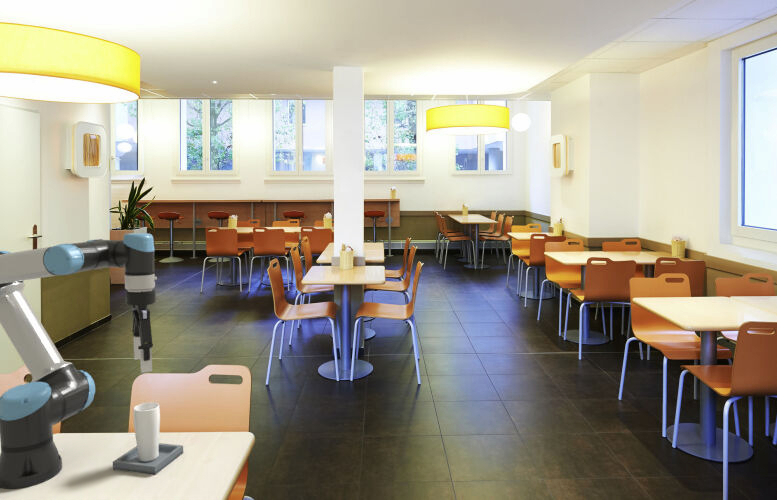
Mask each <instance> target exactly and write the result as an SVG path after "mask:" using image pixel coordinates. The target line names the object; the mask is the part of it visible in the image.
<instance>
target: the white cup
mask: <svg viewBox="0 0 777 500" xmlns="http://www.w3.org/2000/svg"><path fill="white" fill-rule="evenodd" d="M132 417H133V428H134V435H135V440H136V442H135V443H136V446H137V449H138V459H139V460H140V461H142V462H148V461H152V460H155V459H156V458H157V457H158V456H159V443H160V431H161V430H160V427H161V409H160V404H159V403H157V402H151V401H150V402H143V403H140V404H139V403H138V405H136V406H134V407H133V416H132Z"/></svg>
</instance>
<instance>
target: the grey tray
mask: <svg viewBox="0 0 777 500" xmlns="http://www.w3.org/2000/svg"><path fill="white" fill-rule="evenodd" d="M183 454H184V445H181V444H173V443H172V444H170V443H162V442H159V456H158V457H157V458H156V459H155V460H152V461H148V462H142V461H140V460H139V459H138V449H137V445H136V446H134V447H133V448H131V449H130V450H128V451H126V452H125V453H124V454H123V455H121V456H119V457H118V458H116V459H115V460H113V461H112V470H114V471H121V472H130V473H138V474H139V473H140V474H146V475H157V474H159V472H161V471H162V470H163V469H164V468H166V467H167V466H169V465H170V464H171V463H172V462H175V460H176V459H178V458H179V457H180V456H182V455H183Z"/></svg>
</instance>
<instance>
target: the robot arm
mask: <svg viewBox="0 0 777 500" xmlns="http://www.w3.org/2000/svg"><path fill="white" fill-rule="evenodd" d="M154 241H155V240H154V236H153V235H152V234H151V233H146V232H140V233H139V232H135V233H131V232H130V233H125V234H124V235H123V239H122V240H119V239H117V240H115V239H103V238H102V239H101V238H99V239H90V240H89V239H88V240H86V241H83V242H74V243H62V244H61V243H60V244H57V245H54V246H47V247H40V248H34V249H27V250H22V251H21V250H20V251H16V252H15V251H14V252H10V251H8V250H7V251H6V250H0V326H1V327H2V329H3V330H4V332H5V334H6V335H7V337H8V338H9V340H10V341H11V344H12V346H13V347H14V349H15V351H16V352H17V353H18V355H19V356H20V359H21V361H23V364H24V365H25V368H27V370H28V371H29V373H30V375H31V377H32V378H31V379H32V380H31V381H30V382H27V383H24V384H19V385H16V386H13V387H12V388H9V389H8V390H6V391H4V393H3V394H1V395H0V488H3V489H20V488H21V489H22V488H26V487H30V486H34V485H39V484H40V483H43V482H46V481H48V480H50V479H51V478H53V477H55V476H57V475H58V474H59V473H60V472H61V471H62V469H63V460H62V456H61V454H60V453H59V450H58V448H57V446H56V444H55V442H54V437H53V436H54V432H53V430H54V429H53V426H55V425H56V424H59V423H60V422H62V421H65V420H66V419H68V418H70V417H72V416H74V415H78V414H79V413H81V412H82V411H84V410H85V409H87V408H88V407H89V406H90V405H91V404H92V403H93V401H94V398H95V394H96V383H95V381H94V379H93V377H92V376H91V375H90V374H89V373H88V372H87V371H84V370H81V369H79V370H78V369H76V367H75V365H74V364H73V362H69V361H65V360H64V358H63V357H62V355H61V353H60V352H59V351H58V348H57V347H56V345H55V343H54V342H53V340H52V339H51V337H50V335H49V333H48V332H47V330H46V329H45V327H44V326H43V324H42V322H41V321H40V319H39V317H38V316H37V314H36V312H35V311H34V309H33V307H32V306H31V304H30V302H29V300H28V299H27V297H26V295H25V294H24V293H23V292H24V291H23V290H24V289H25V287H26V284H25V283H24V281H28V280H34V279H35V280H36V279H40V278H41V279H42V278H47V277H48V278H49V277H57V276H67V275H72V274H77V273H82V272H87V271H94V270H99V269H104V268H123V269H124V289H125V290H126V292H125V304H126V305H127V306H132V330H131V332H132V335H133V359H134V360H136V361H137V360H140V373H149V372H153V351H152V348H153V346H154V344H153V335H152V326H151V311H150V310H149V308H148V306H149V305H153V304H155V303H156V301H157V297H156V296H157V295H156V290H155V287H156V282H155V281H157V279H158V277H157V276H155V275H156V274H155V251H156V250H155V245H154Z"/></svg>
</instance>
